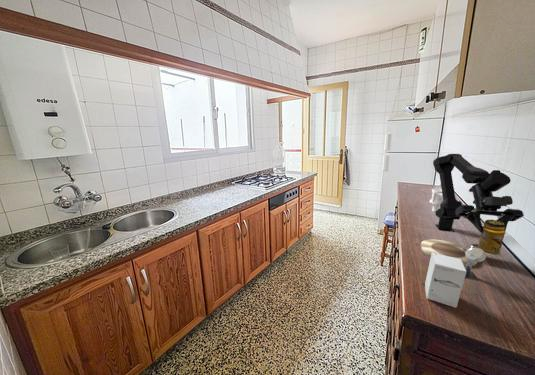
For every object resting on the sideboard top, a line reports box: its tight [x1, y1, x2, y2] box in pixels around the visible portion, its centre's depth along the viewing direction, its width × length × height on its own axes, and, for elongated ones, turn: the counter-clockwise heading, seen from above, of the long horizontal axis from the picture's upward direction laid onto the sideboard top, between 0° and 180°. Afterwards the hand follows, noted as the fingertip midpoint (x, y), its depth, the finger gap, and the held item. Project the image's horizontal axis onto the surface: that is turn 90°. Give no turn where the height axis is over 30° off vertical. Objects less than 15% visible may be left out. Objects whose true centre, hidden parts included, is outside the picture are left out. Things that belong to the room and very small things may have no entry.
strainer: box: [429, 188, 443, 213], centre depth 135 cm, size 7×7×15 cm
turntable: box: [420, 238, 478, 267], centre depth 89 cm, size 18×18×2 cm
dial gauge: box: [462, 245, 487, 282], centre depth 76 cm, size 8×5×12 cm, turn 160°
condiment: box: [468, 219, 506, 258], centre depth 83 cm, size 7×8×12 cm
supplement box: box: [424, 253, 467, 309], centre depth 66 cm, size 7×7×13 cm
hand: (492, 233), depth 82 cm, fingers closed on condiment, 6 cm apart
